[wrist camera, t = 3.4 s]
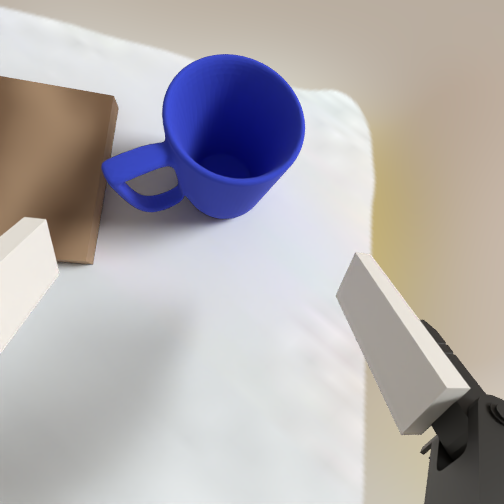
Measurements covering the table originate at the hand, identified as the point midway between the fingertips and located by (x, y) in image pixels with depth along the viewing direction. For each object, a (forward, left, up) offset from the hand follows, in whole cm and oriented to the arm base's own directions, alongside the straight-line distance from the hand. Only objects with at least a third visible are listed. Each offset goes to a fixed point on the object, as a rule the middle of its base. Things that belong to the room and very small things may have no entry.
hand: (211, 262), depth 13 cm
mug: (-1, +8, -12) cm, 14 cm away
